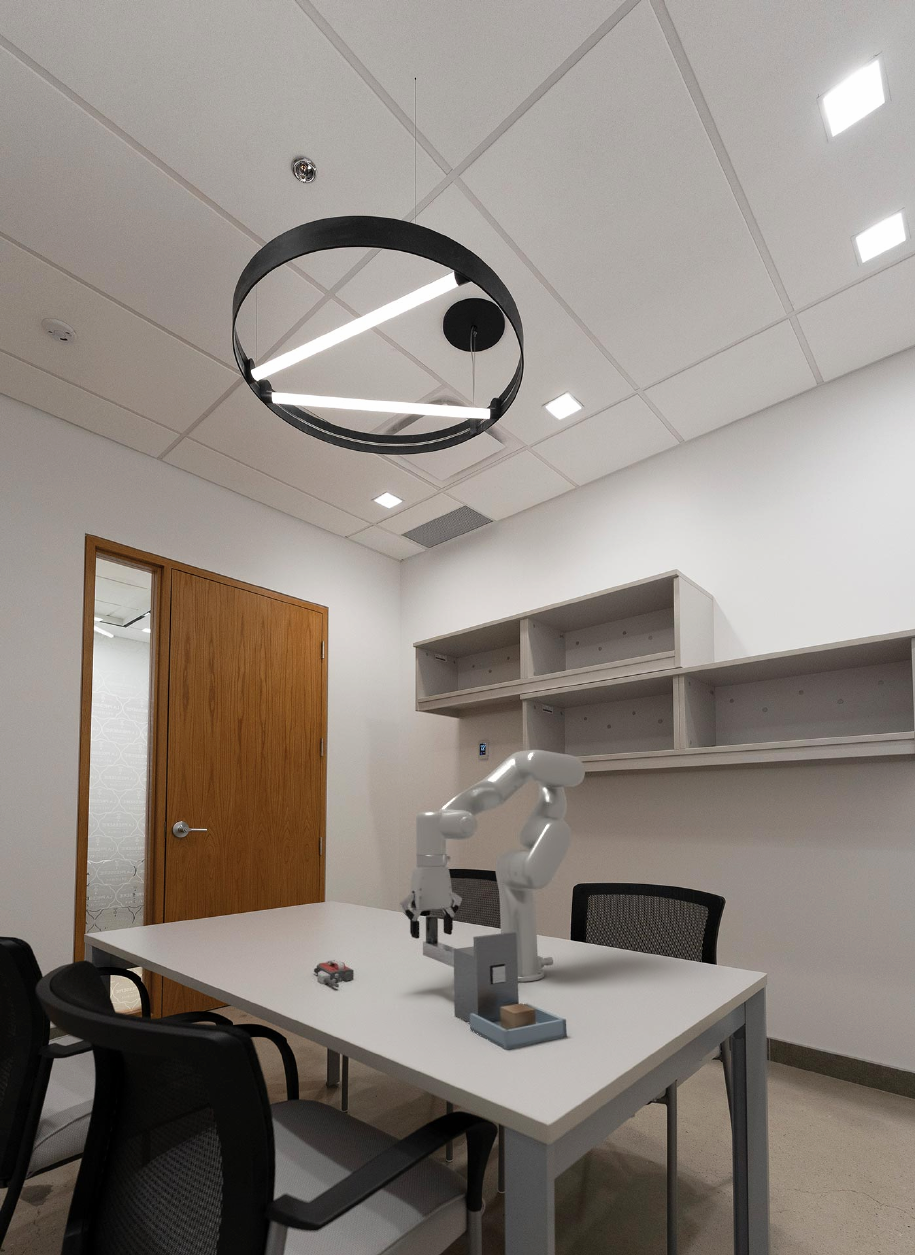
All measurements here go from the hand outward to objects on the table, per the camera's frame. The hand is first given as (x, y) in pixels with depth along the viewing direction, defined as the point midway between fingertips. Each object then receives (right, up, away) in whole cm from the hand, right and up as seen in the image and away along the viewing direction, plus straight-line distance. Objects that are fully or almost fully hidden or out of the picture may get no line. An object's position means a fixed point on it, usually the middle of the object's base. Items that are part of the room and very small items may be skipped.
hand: (431, 935), depth 175 cm
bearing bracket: (+13, -7, -25) cm, 28 cm away
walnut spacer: (+18, 0, -34) cm, 39 cm away
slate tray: (+18, -4, -35) cm, 39 cm away
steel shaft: (+7, -1, -13) cm, 15 cm away
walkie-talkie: (-25, -16, +9) cm, 31 cm away
